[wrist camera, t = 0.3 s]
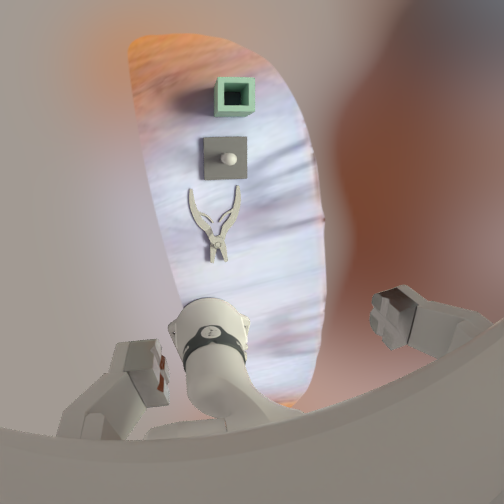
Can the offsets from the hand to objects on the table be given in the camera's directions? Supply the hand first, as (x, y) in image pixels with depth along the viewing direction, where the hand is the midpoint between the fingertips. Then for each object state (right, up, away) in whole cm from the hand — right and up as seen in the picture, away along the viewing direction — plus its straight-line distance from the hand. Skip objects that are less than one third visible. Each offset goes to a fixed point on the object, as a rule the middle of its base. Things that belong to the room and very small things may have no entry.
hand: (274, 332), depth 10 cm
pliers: (-8, +8, +46) cm, 48 cm away
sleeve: (-5, +31, +38) cm, 49 cm away
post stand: (-6, +20, +42) cm, 47 cm away
